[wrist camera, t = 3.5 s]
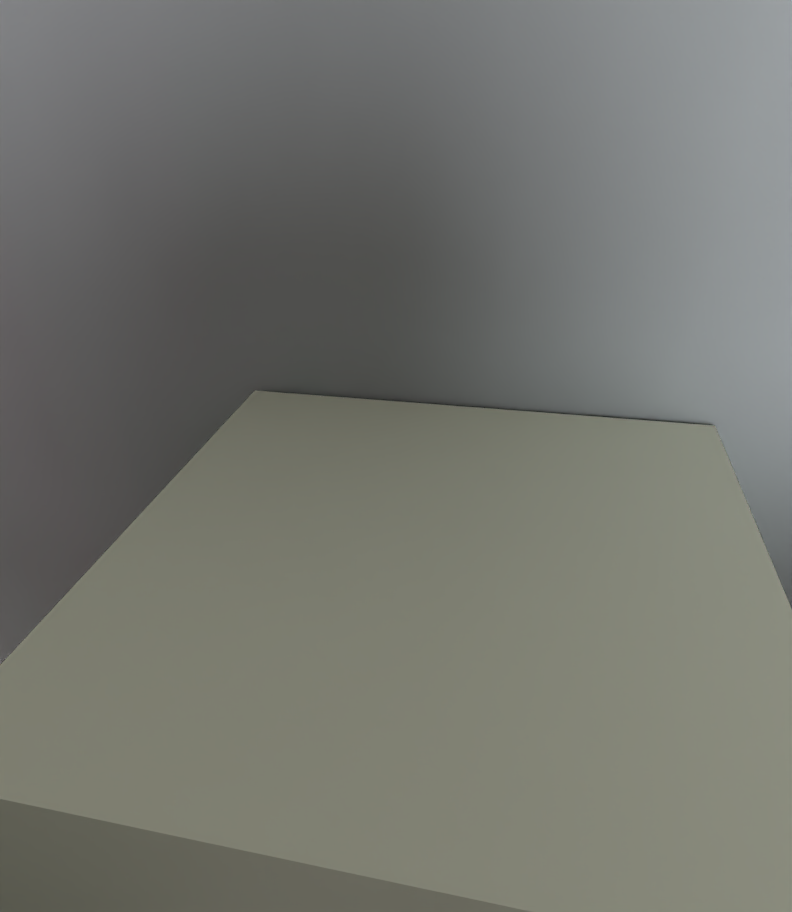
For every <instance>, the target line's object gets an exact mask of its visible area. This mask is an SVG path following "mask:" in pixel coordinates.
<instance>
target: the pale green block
mask: <svg viewBox="0 0 792 912" xmlns="http://www.w3.org/2000/svg"><path fill="white" fill-rule="evenodd" d="M0 912H792V609H791V606H790V604H789V601H788V599H787V597H786V594H785V592H784V589H783V587H782V585H781V582H780V580H779V577H778V575H777V573H776V570H775V568H774V566H773V563H772V561H771V558H770V556H769V554H768V551H767V549H766V546H765V544H764V542H763V539H762V537H761V534H760V532H759V530H758V527H757V525H756V523H755V520H754V518H753V515H752V513H751V511H750V508H749V506H748V503H747V501H746V499H745V496H744V494H743V491H742V489H741V487H740V484H739V482H738V480H737V477H736V475H735V472H734V470H733V468H732V465H731V463H730V460H729V458H728V456H727V453H726V451H725V448H724V446H723V444H722V441H721V439H720V437H719V434H718V432H717V429H716V427H715V426H713V425H700V424H687V423H674V422H660V421H647V420H634V419H621V418H608V417H595V416H582V415H569V414H556V413H543V412H530V411H516V410H503V409H490V408H477V407H464V406H451V405H438V404H425V403H412V402H399V401H386V400H372V399H359V398H346V397H333V396H320V395H307V394H294V393H281V392H268V391H254V392H253V393H252V394H251V395H250V396H249V397H248V398H247V399H246V400H245V402H244V403H243V404H242V405H241V406H240V407H239V408H238V409H237V410H236V411H235V412H234V413H233V414H232V416H231V417H230V418H229V419H228V420H227V421H226V422H225V423H224V424H223V425H222V426H221V427H220V428H219V430H218V431H217V432H216V433H215V434H214V435H213V436H212V437H211V438H210V439H209V440H208V441H207V443H206V444H205V445H204V446H203V447H202V448H201V449H200V450H199V451H198V452H197V453H196V454H195V455H194V457H193V458H192V459H191V460H190V461H189V462H188V463H187V464H186V465H185V466H184V467H183V468H182V469H181V471H180V472H179V473H178V474H177V475H176V476H175V477H174V478H173V479H172V480H171V481H170V482H169V483H168V485H167V486H166V487H165V488H164V489H163V490H162V491H161V492H160V493H159V494H158V495H157V496H156V498H155V499H154V500H153V501H152V502H151V503H150V504H149V505H148V506H147V507H146V508H145V509H144V510H143V512H142V513H141V514H140V515H139V516H138V517H137V518H136V519H135V520H134V521H133V522H132V523H131V524H130V526H129V527H128V528H127V529H126V530H125V531H124V532H123V533H122V534H121V535H120V536H119V537H118V539H117V540H116V541H115V542H114V543H113V544H112V545H111V546H110V547H109V548H108V549H107V550H106V551H105V553H104V554H103V555H102V556H101V557H100V558H99V559H98V560H97V561H96V562H95V563H94V564H93V565H92V567H91V568H90V569H89V570H88V571H87V572H86V573H85V574H84V575H83V576H82V577H81V578H80V580H79V581H78V582H77V583H76V584H75V585H74V586H73V587H72V588H71V589H70V590H69V591H68V592H67V594H66V595H65V596H64V597H63V598H62V599H61V600H60V601H59V602H58V603H57V604H56V605H55V606H54V608H53V609H52V610H51V611H50V612H49V613H48V614H47V615H46V616H45V617H44V618H43V619H42V620H41V622H40V623H39V624H38V625H37V626H36V627H35V628H34V629H33V630H32V631H31V632H30V633H29V635H28V636H27V637H26V638H25V639H24V640H23V641H22V642H21V643H20V644H19V645H18V646H17V647H16V649H15V650H14V651H13V652H12V653H11V654H10V655H9V656H8V657H7V658H6V659H5V660H4V661H3V663H2V664H1V665H0Z"/></svg>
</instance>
